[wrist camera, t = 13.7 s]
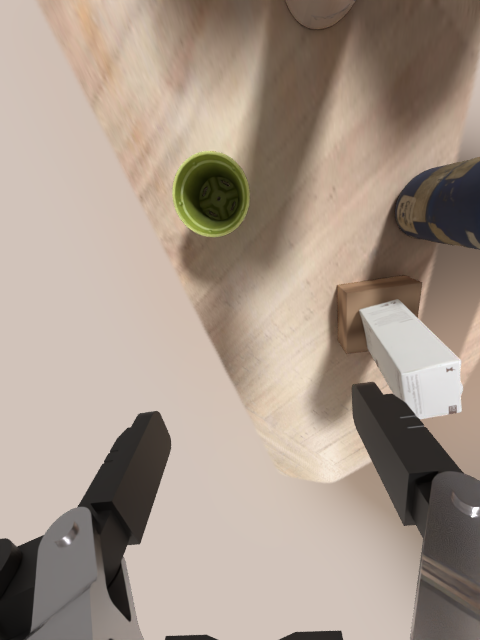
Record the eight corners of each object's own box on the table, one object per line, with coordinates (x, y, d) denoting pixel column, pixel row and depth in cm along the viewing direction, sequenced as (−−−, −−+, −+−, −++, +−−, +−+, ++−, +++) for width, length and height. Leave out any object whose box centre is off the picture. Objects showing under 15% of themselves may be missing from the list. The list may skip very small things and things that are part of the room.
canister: (472, 193, 36) (655, 180, 20) (421, 250, 40) (542, 278, 23) (426, 153, 35) (585, 102, 18) (376, 216, 38) (473, 220, 22)
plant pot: (234, 242, 40) (231, 249, 32) (179, 216, 39) (162, 217, 31) (260, 182, 37) (263, 174, 29) (200, 151, 36) (187, 134, 28)
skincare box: (358, 308, 39) (396, 371, 26) (400, 296, 37) (463, 358, 24) (367, 350, 42) (406, 424, 30) (407, 341, 41) (466, 415, 28)
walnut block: (336, 284, 43) (346, 293, 38) (403, 274, 42) (422, 282, 37) (337, 339, 47) (346, 353, 43) (397, 332, 46) (413, 345, 42)
